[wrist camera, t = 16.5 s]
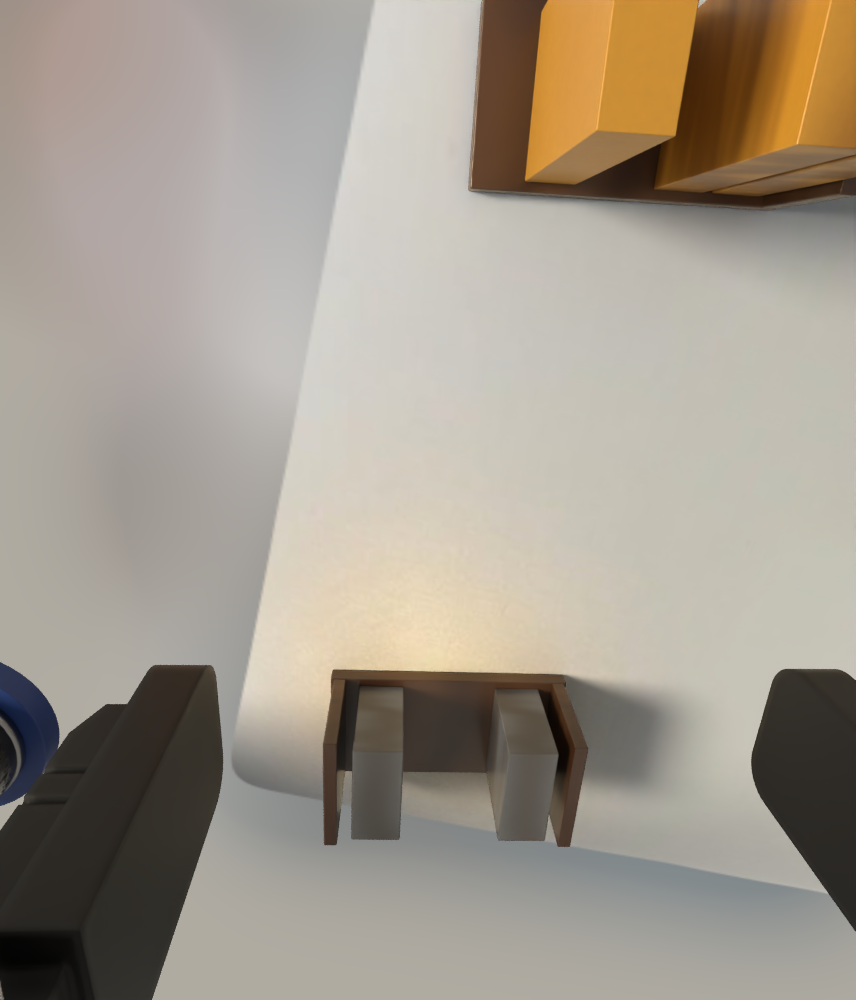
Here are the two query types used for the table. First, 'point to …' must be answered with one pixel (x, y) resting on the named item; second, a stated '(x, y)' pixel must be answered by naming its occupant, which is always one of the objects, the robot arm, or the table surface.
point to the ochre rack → (697, 109)
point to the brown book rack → (453, 747)
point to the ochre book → (606, 83)
